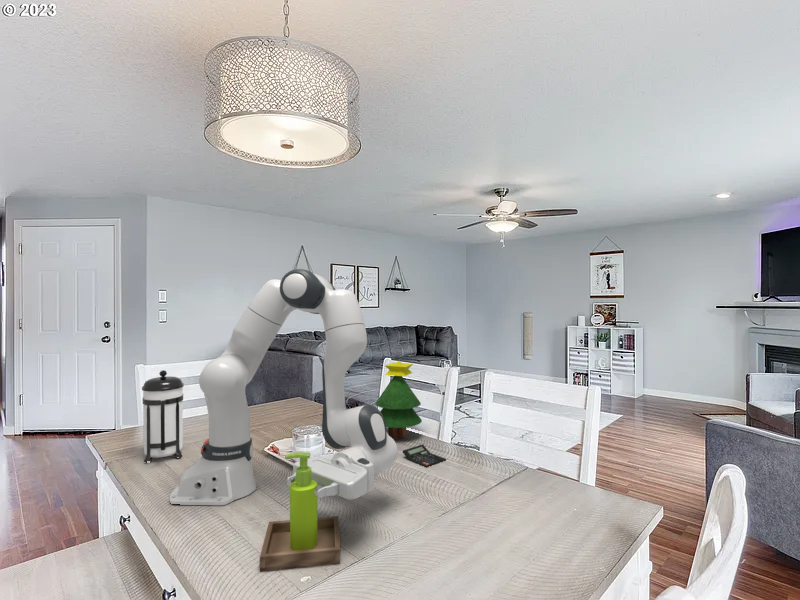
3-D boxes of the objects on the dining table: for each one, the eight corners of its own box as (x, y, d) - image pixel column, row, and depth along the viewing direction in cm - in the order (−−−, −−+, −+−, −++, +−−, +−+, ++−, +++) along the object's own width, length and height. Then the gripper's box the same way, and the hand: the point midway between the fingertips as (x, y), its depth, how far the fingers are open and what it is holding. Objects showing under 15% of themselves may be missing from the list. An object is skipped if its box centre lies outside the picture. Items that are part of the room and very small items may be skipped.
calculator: (426, 468, 141) (426, 459, 141) (402, 458, 150) (402, 450, 150) (446, 461, 148) (446, 452, 148) (422, 452, 156) (422, 444, 156)
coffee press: (125, 462, 147) (124, 373, 147) (166, 446, 162) (166, 365, 162) (162, 469, 141) (162, 376, 140) (202, 453, 155) (201, 368, 155)
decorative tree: (365, 440, 168) (364, 362, 168) (385, 426, 186) (384, 356, 186) (412, 446, 161) (411, 365, 161) (428, 431, 179) (428, 358, 179)
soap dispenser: (287, 537, 99) (287, 449, 99) (318, 535, 100) (318, 448, 100) (283, 552, 93) (282, 459, 93) (316, 550, 94) (315, 457, 94)
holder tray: (259, 571, 88) (259, 557, 88) (269, 534, 102) (268, 521, 102) (340, 563, 91) (340, 549, 91) (338, 528, 104) (338, 515, 104)
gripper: (319, 446, 113) (273, 462, 103) (378, 465, 101) (333, 485, 90) (319, 471, 114) (274, 489, 103) (378, 492, 101) (333, 516, 90)
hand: (302, 488), depth 96 cm, fingers open, 8 cm apart
